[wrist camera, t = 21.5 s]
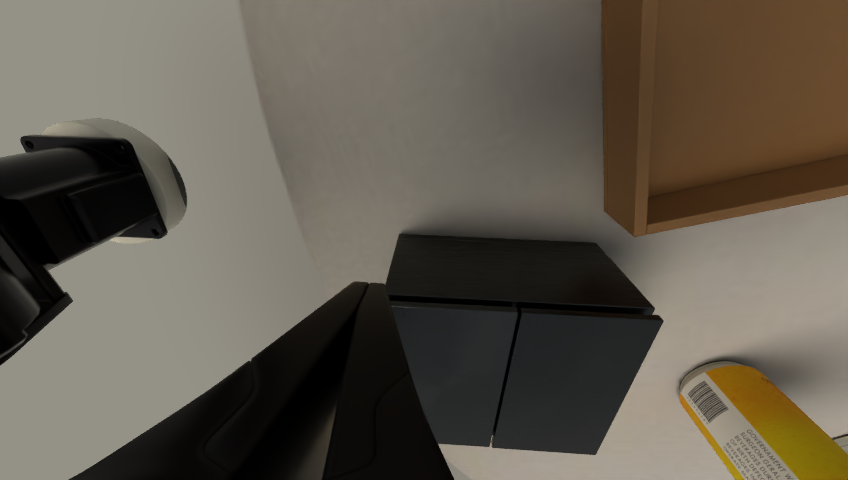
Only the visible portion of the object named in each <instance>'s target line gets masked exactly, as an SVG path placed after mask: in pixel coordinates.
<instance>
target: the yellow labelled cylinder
mask: <svg viewBox="0 0 848 480" xmlns="http://www.w3.org/2000/svg"><path fill="white" fill-rule="evenodd" d="M680 391H681V393H680V402H681V404H682V406H683V407H684V409H685V410H686V412H687V413H688V414H689V416H690V417H691V419H692V420H693V421H694V423H695V424H696V426H697V427H698V428H699V430H700V431H701V432H702V434H703V435H704V437H705V438H706V439H707V441H708V442H709V444H710V445H711V446H712V448H713V449H714V451H715V452H716V453H717V455H718V456H719V458H720V459H721V460H722V462H723V463H724V464H725V466H726V467H727V469H728V470H729V471H730V473H731V474H732V476H733V477H734V478H735V480H848V454H847V453H846V452H845V451H844V450H843V449H842V448H841V447H840V446H839V445H838V444H837V443H836V442H835V441H834V440H832V439H831V438H830V437H829V436H828V435H827V434H826V433H825V432H824V431H823V430H822V429H821V428H820V427H819V426H818V425H817V424H815V423H814V422H813V421H812V420H811V419H810V418H809V417H808V416H807V415H806V414H805V413H804V412H803V411H802V410H801V409H800V408H798V407H797V406H796V405H795V404H794V403H793V402H792V401H791V400H790V399H789V398H788V397H787V396H786V395H785V394H784V393H783V392H781V391H780V390H779V389H778V388H777V387H776V386H775V385H774V384H773V383H772V382H771V381H770V380H769V379H768V378H767V377H766V376H764V375H763V374H762V373H761V372H760V371H759V370H757V369H755V368H752V367H749V366H744V365H741V364H739V363H736V362H730V361H720V362H714V363H709V364H706V365H703V366H701V367H699V368H697V369H695V370H693V371H692V372H690V373H689V374H688V375H687V376H686V377H685V378H684V379H683V381H682V383H681V385H680Z"/></svg>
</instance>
